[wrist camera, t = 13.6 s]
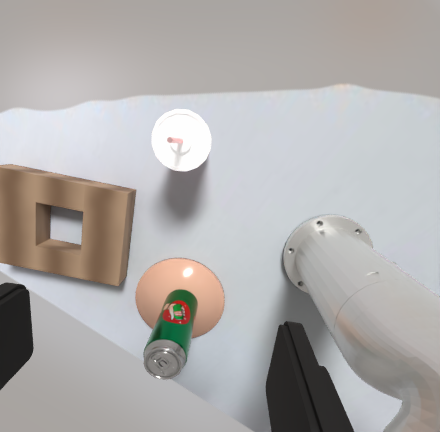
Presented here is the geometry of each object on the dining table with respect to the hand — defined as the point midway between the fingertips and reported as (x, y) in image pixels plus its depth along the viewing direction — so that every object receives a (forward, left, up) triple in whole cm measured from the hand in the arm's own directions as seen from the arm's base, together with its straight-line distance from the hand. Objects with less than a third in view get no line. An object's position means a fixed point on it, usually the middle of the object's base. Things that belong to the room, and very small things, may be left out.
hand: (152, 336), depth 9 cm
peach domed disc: (+2, +17, -28) cm, 33 cm away
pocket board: (+20, +8, -28) cm, 35 cm away
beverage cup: (+4, -7, -28) cm, 29 cm away
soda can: (+1, +17, -27) cm, 32 cm away
